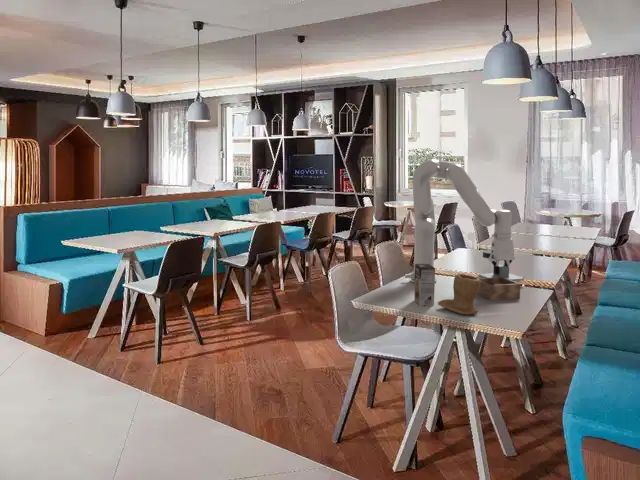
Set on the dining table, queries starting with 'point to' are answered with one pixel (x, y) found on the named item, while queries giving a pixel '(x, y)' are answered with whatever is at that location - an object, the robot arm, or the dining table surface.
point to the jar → (487, 263)
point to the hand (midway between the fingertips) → (501, 273)
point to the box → (498, 288)
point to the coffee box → (424, 284)
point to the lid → (502, 274)
